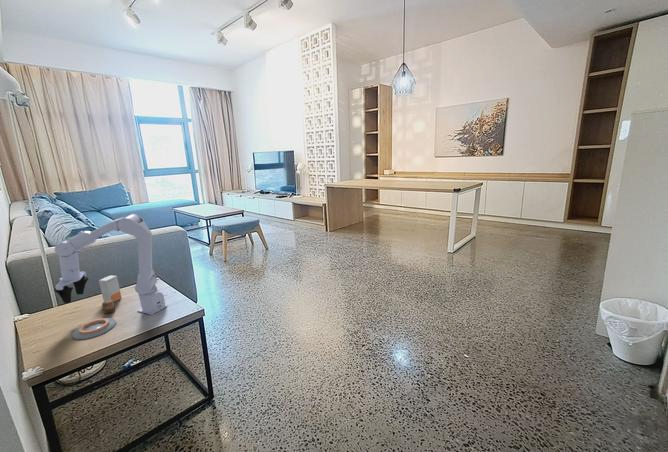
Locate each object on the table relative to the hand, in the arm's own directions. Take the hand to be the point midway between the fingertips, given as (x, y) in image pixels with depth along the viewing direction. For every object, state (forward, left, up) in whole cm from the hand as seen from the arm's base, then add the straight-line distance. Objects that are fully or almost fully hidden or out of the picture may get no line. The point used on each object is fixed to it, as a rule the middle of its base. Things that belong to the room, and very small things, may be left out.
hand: (73, 298), depth 123 cm
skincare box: (+4, -17, -11) cm, 20 cm away
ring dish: (-14, +2, -10) cm, 18 cm away
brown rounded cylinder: (-6, -9, -10) cm, 15 cm away
